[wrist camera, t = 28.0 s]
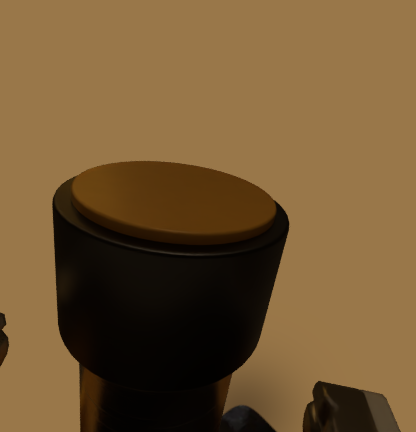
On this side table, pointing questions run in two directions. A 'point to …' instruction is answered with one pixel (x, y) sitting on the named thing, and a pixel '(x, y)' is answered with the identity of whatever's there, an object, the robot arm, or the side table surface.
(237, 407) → the side table surface
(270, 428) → the side table surface
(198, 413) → the torch
